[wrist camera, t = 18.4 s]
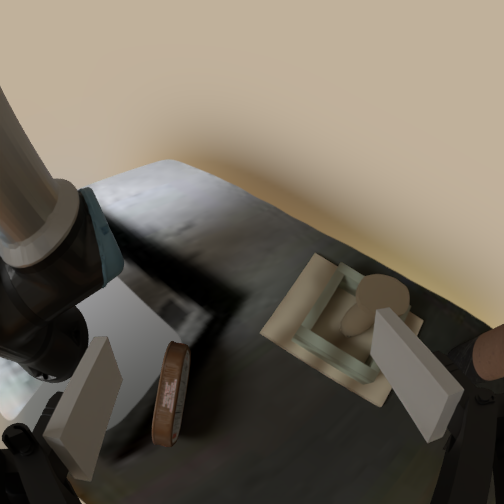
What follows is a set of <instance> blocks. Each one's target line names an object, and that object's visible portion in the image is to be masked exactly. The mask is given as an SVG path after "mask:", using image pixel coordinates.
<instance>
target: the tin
mask: <svg viewBox="0 0 504 504" xmlns="http://www.w3.org/2000/svg"><path fill="white" fill-rule="evenodd" d="M190 362H191V352H190V349H189V347H188V345H186V344H182V343H176V342H174V341H171V342H170V343H169V345H168V347H167V349H166V352H165V356H164V359H163V364H162V369H161V375H160V380H159V386H158V392H157V397H156V404H155V410H154V416H153V422H152V440H153V443H154V444H155V445H157V444H158V445H162V446H166V447H172V446H173V445H174V444H175V443H176V442H177V439H178V436H179V432H180V427H181V422H182V416H183V410H184V404H185V398H186V392H187V385H188V378H189V371H190Z"/></svg>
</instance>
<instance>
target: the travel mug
mask: <svg viewBox="0 0 504 504" xmlns="http://www.w3.org/2000/svg"><path fill="white" fill-rule="evenodd" d="M447 356H448V357H449V358H450V359H451V360H452V361H453V363H454V364H455V365H456V366H457V367H458V368H459V370H461V371H462V372H463V373H464V374H465V376H466V377H467V378H468V379H469V380H470V381H471V382H472V383H473V384H476V383H481V382H486V381H491V380H495V379H498V378H502V377H504V324H502V325H501V326H498V327H496V328H494V329H492V330H490V331H487V332H485V333H483V334H481V335H479V336H477V337H475V338H473V339H471V340H469V341H467V342H465V343H463V344H461V345H459V346H457V347H455V348H454V349H452V350H451V351H450V352H449V354H448V355H447Z"/></svg>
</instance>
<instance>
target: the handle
mask: <svg viewBox="0 0 504 504" xmlns="http://www.w3.org/2000/svg"><path fill="white" fill-rule="evenodd" d="M356 302H357V303H356V304H354V305H353V306H352V307H351V308H350V309H349V310H348V311H347V312H346V314H345V315H344V317H343V319H342V320H341V322H340V324H341V326H340V328H339V331H340V332H341V333H343V334H344V336H345V337H346V338H351V337H352V336H357V335H360V334H362V333H364V332H365V331H367V330H368V329H369V328H370V327H371V326H372V325H373V324H374V323H375V315H376V310H377V309H382V308H388V307H390V308H391V309H392V311H393V312H394V313H395V314H396V315H397V316H398V317H399V316H401V315H403V314H404V313H405V312H406V311H407V309H408V306H409V302H410V296H409V291H408V289H407V287H406V286H405V285H404V284H402V283H401V282H400V281H398V280H397V279H395V278H393V277H390V276H387V275H383V274H374V275H368V276H365V277H364V278H363V279H362V280H361V281H360V283H359V284H358V286H357V289H356Z"/></svg>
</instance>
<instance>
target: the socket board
mask: <svg viewBox="0 0 504 504" xmlns="http://www.w3.org/2000/svg"><path fill="white" fill-rule="evenodd" d="M364 277H365V276H363V275H362V274H360V273H358V272H357V271H355V270H353V269H352V268H350V267H349V266H347V265H345V264H344V263H342V262H340V264H339V265H338V266H336V265H334V264H333V263H331V262H329V261H328V260H326V259H324V258H323V257H321V256H319V255H318V254H316V253H315V254H314V255H313V257H312V258H311V260H310V261H309V262H308V264H307V265H306V267H305V268H304V270H303V271H302V273H301V274H300V276H299V277H298V279H297V280H296V282H295V283H294V285H293V286H292V287H291V289H290V290H289V292H288V293H287V295H286V296H285V298H284V299H283V300H282V302H281V303H280V305H279V306H278V308H277V309H276V310H275V312H274V313H273V315H272V316H271V318H270V319H269V320H268V322H267V323H266V325H265V326H264V327H263V329H262V330H261V332H260V334H261V335H263V336H265V337H266V338H268V339H269V340H271V341H272V342H274V343H275V344H277V345H278V346H280V347H281V348H283V349H284V350H286V351H288V352H289V353H291V354H292V355H294V356H295V357H297V358H298V359H300V360H302V361H303V362H305V363H306V364H308V365H310V366H311V367H313V368H314V369H316V370H318V371H319V372H321V373H323V374H324V375H326V376H327V377H329V378H331V379H332V380H334V381H336V382H337V383H339V384H341V385H342V386H344V387H346V388H347V389H349V390H351V391H352V392H354V393H356V394H357V395H359V396H361V397H363V398H364V399H366V400H368V401H369V402H371V403H373V404H375V405H376V406H378V407H382V405H383V403H384V402H385V400H386V398H387V396H388V394H389V392H390V391H391V389H392V386H391V385H390V383H389V382H388V380H387V379H386V377H385V376H384V374H383V373H382V371H381V370H380V368H379V367H378V365H377V364H376V362H375V361H374V359H373V358H372V356H371V355H370V351H371V345H372V338H373V331H374V324H373V325H372V326H371V327H370V328H369V329H368V330H367V331H365V332H364V333H362V334H360V335H357V336H352V337H351V338H346V337H345V336H344V334H343V333H341V332H340V331H339V328H340V326H341V324H340V322H341V320H342V319H343V317H344V315H345V314H346V312H347V311H348V310H349V309H350V308H351V307H352V306H353V305H354V304H356V303H357V302H356V289H357V286H358V284H359V283H360V281H361V280H362V279H363V278H364ZM410 308H411V305H409V306H408V309H407V311H406V312H405V313H404V314H403V315H401V316H399V318H400V319H401V320H402V321H403V322H404V323H405V324H406V325H407V326H408V327H409V328H410V330H411V331H412V332H413V333H414V334H415V335H416V336H417V335H418V333H419V330H420V328H421V326H422V323H423V320H422V319H420V318H419V317H417V316H416V315H414V314H413V313H411V312H409V310H410Z"/></svg>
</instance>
